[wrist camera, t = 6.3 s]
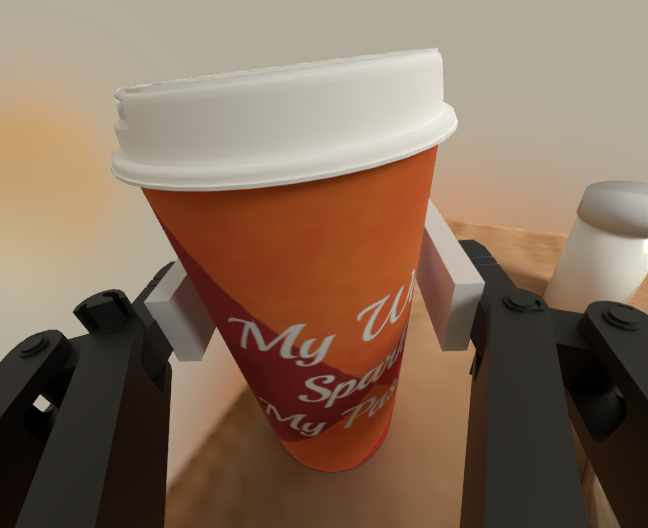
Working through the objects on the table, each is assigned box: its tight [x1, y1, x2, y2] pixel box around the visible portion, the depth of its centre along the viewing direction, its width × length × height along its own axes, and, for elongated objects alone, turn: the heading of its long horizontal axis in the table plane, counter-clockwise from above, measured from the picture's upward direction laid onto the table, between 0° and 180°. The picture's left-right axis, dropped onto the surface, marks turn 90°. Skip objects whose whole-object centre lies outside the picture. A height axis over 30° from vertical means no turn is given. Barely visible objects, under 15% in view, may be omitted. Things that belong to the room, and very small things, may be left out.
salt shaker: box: [543, 181, 648, 313], centre depth 16 cm, size 4×4×7 cm
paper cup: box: [111, 48, 458, 472], centre depth 10 cm, size 8×8×14 cm
